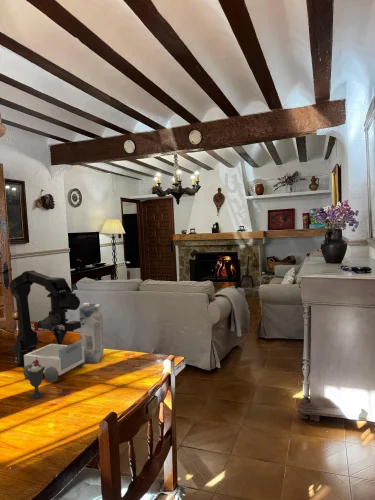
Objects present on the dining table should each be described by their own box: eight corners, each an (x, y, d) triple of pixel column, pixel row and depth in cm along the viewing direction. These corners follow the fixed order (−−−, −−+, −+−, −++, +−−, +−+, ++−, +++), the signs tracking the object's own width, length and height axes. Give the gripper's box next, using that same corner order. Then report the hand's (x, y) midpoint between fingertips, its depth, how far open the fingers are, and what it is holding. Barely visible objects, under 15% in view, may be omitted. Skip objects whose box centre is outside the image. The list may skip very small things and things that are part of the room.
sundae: (39, 400, 128) (37, 359, 127) (23, 399, 129) (20, 358, 129) (50, 392, 134) (48, 353, 134) (34, 391, 136) (32, 352, 135)
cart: (22, 378, 148) (21, 356, 148) (54, 363, 166) (53, 342, 165) (57, 384, 142) (56, 360, 142) (86, 367, 159) (85, 346, 159)
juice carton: (105, 355, 173) (102, 300, 172) (99, 363, 163) (96, 304, 162) (86, 356, 174) (84, 301, 172) (79, 364, 163) (77, 305, 162)
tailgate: (59, 369, 145) (58, 349, 144) (79, 358, 157) (79, 340, 156) (63, 370, 144) (62, 350, 144) (84, 359, 156) (83, 341, 156)
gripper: (26, 311, 147) (28, 348, 148) (62, 313, 141) (64, 352, 141) (46, 305, 158) (47, 340, 158) (81, 307, 151) (82, 344, 152)
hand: (59, 344), depth 152 cm, fingers closed
